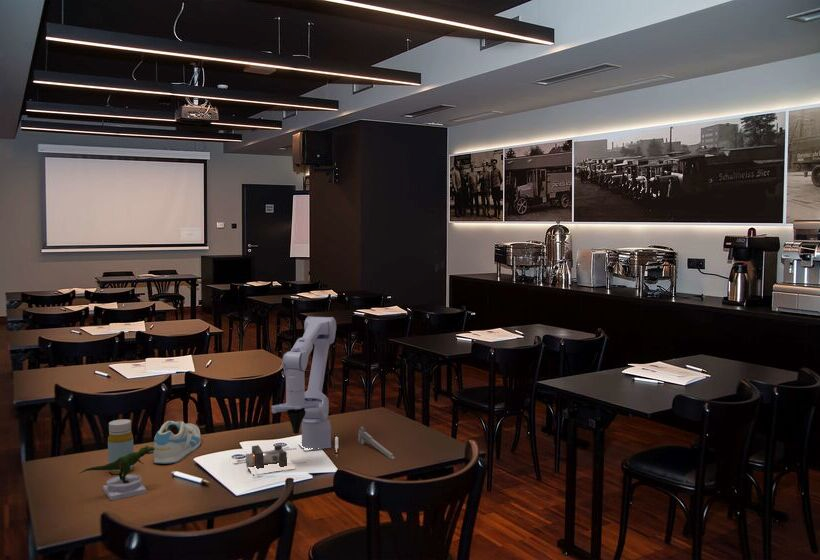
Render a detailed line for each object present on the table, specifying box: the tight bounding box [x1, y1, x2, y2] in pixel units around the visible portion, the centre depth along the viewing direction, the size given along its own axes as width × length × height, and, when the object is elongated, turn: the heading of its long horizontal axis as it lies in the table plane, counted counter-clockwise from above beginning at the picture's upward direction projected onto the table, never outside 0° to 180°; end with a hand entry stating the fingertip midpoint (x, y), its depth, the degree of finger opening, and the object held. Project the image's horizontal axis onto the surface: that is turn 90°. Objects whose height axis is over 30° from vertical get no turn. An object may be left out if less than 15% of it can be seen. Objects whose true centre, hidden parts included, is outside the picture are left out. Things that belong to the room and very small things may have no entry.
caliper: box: [357, 426, 396, 460], centre depth 223 cm, size 20×1×6 cm, turn 37°
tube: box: [245, 448, 284, 469], centre depth 206 cm, size 11×4×4 cm, turn 114°
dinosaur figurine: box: [79, 445, 155, 501], centre depth 187 cm, size 9×20×12 cm, turn 126°
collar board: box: [251, 444, 288, 469], centre depth 207 cm, size 13×9×6 cm
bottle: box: [107, 418, 135, 475], centre depth 204 cm, size 7×7×15 cm
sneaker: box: [153, 420, 202, 465], centre depth 222 cm, size 10×27×11 cm, turn 0°
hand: (295, 432), depth 211 cm, fingers closed
